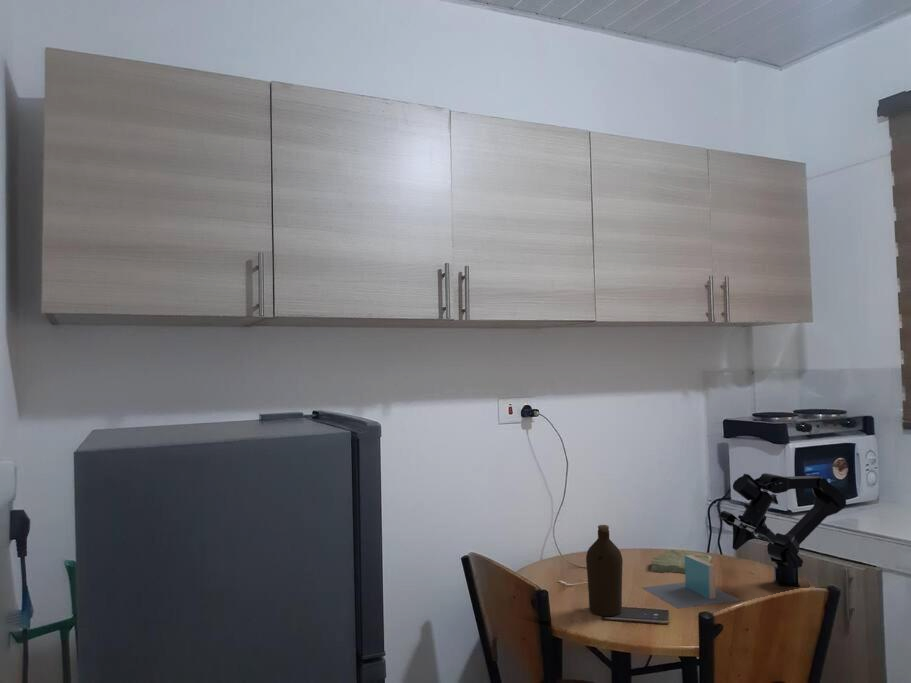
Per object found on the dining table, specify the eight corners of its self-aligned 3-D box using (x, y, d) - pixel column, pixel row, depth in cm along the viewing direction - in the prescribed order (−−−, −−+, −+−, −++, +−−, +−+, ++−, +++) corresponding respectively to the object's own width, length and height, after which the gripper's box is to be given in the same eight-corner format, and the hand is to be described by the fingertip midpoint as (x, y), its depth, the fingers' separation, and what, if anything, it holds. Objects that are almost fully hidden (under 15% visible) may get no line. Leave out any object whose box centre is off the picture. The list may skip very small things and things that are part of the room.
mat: (700, 582, 227) (700, 580, 227) (740, 602, 207) (740, 600, 207) (641, 589, 221) (641, 587, 221) (677, 610, 201) (677, 608, 201)
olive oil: (629, 616, 197) (626, 529, 198) (593, 618, 196) (591, 531, 197) (616, 603, 208) (614, 521, 209) (582, 605, 207) (580, 522, 208)
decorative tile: (712, 563, 249) (712, 553, 250) (704, 579, 232) (704, 568, 232) (660, 557, 258) (660, 547, 258) (648, 571, 240) (648, 561, 241)
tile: (691, 586, 221) (691, 554, 222) (715, 597, 210) (714, 565, 210) (685, 586, 220) (684, 555, 221) (708, 598, 209) (707, 565, 209)
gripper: (794, 529, 217) (771, 572, 214) (746, 511, 234) (724, 550, 231) (777, 512, 212) (753, 555, 209) (729, 494, 229) (706, 534, 226)
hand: (734, 549), depth 219 cm, fingers closed
